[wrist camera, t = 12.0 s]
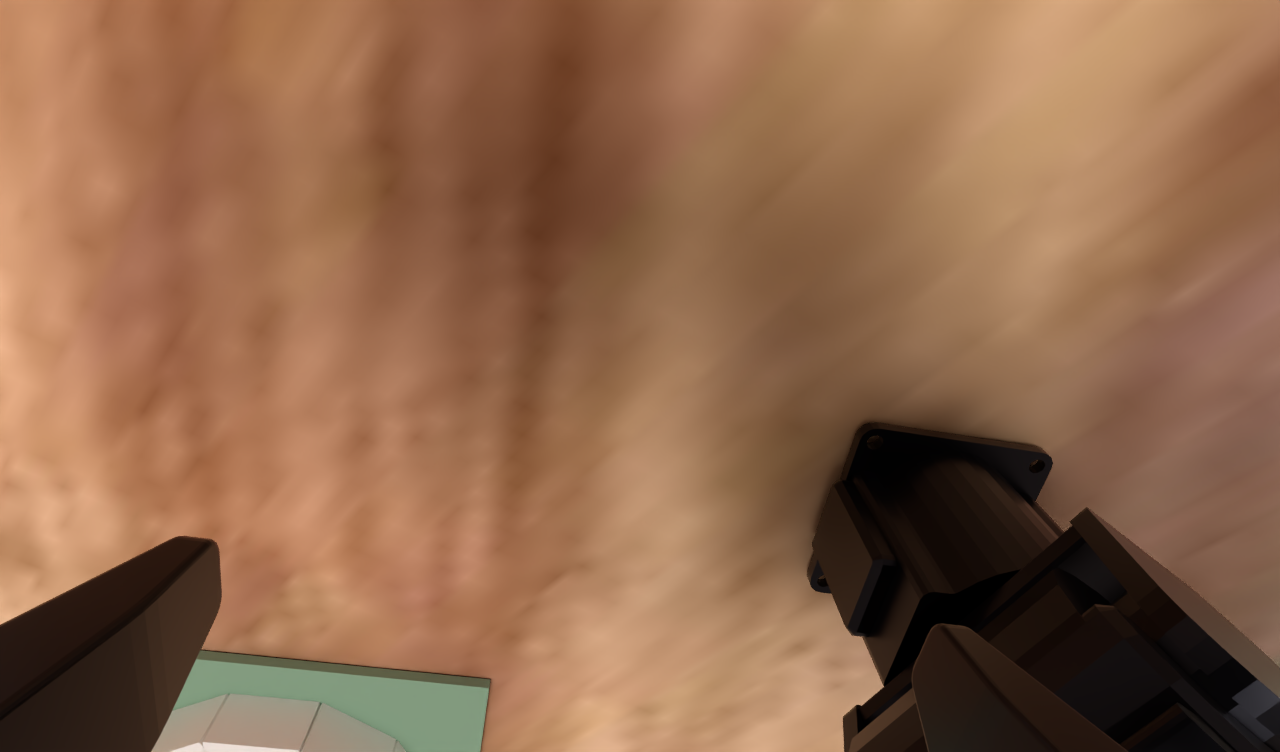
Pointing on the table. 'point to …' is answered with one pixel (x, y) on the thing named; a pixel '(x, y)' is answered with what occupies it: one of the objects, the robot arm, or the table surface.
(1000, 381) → the table surface
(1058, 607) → the robot arm
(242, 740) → the green square ring tray
